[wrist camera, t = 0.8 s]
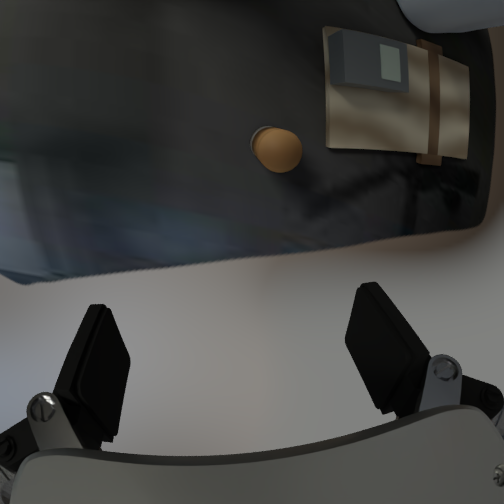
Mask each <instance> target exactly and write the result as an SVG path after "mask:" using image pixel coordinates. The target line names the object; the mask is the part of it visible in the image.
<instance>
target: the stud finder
mask: <svg viewBox="0 0 504 504" xmlns="http://www.w3.org/2000/svg"><path fill="white" fill-rule="evenodd" d="M328 47H329V65H330V85H340V86H349V87H358V88H365V89H372V90H378V91H384V92H400V93H409V72H408V54H407V44H406V43H402V42H399V41H395V40H392V39H388V38H384V37H380V36H376V35H372V34H367V33H362V32H357V31H352V30H347V29H341V30H339V31H337V32H335V33H333V34H332V35H330V36H328Z"/></svg>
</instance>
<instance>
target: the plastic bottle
mask: <svg viewBox="0 0 504 504" xmlns="http://www.w3.org/2000/svg"><path fill="white" fill-rule="evenodd" d="M397 2H398V4H399V6H400V8H401V10H402V12H403V14H404V15H405V16H406V18H407V19H408V20H409V21H410V22H411V23H412V24H413V25H414V26H416V27H417V28H419V29H420V30H422V31H425V32H428V33H462V32H468V31H473V30H478V29H484V28H490V27H497V26H504V0H397Z"/></svg>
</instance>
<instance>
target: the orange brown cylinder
mask: <svg viewBox="0 0 504 504" xmlns="http://www.w3.org/2000/svg"><path fill="white" fill-rule="evenodd" d="M250 148H251V151H252V152H253V154H254V155H255V156H256V157H257V158H258V159H259V160H260V161H261V163H262V164H263V165H264V166H265V167H266V168H267V169H269V170H271V171H273V172H278V173H282V172H287V171H290V170H292V169H293V168H294V167H296V166H297V164H298V163H299V161H300V159H301V157H302V145H301V142H300V140H299V139H298V138H297V136H296V135H294V134H293V133H292V132H289V131H287V130H283V129H279V128H276V127H272V126H263V127H260V128H258V129H257V130H255V131H254V132H253V134H252V136H251V138H250Z"/></svg>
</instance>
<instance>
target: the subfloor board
mask: <svg viewBox="0 0 504 504" xmlns="http://www.w3.org/2000/svg"><path fill="white" fill-rule="evenodd" d="M341 29H342V28H336V27H330V26H325V27H324V28H322V30H323V44H324V62H325V89H326V147H329V148H354V149H375V150H390V151H403V152H413V153H417V159H416V162H417V163H420V164H427V165H438V166H441V159H442V156H448V157H455V158H461V159H467V150H468V138H469V118H470V84H469V67H467V66H465V65H463V64H461V63H458V62H456V61H454V60H451V59H449V58H446V57H444V56H443V53H442V47H441V46H439V45H436V44H434V43H431V42H428V41H426V40H423V39H419V40H416V43H417V47H416V46H413V45H409V44H407V54H408V72H409V93H400V92H384V91H378V90H372V89H365V88H358V87H349V86H340V85H330V65H329V47H328V36H330V35H332V34H333V33H335V32H337V31H339V30H341ZM347 30H348V29H347ZM352 31H353V30H352ZM357 32H358V31H357ZM362 33H363V32H362ZM367 34H368V33H367ZM376 36H377V35H376ZM380 37H381V36H380ZM384 38H385V37H384ZM388 39H389V38H388ZM395 41H396V40H395ZM402 43H403V42H402Z"/></svg>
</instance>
